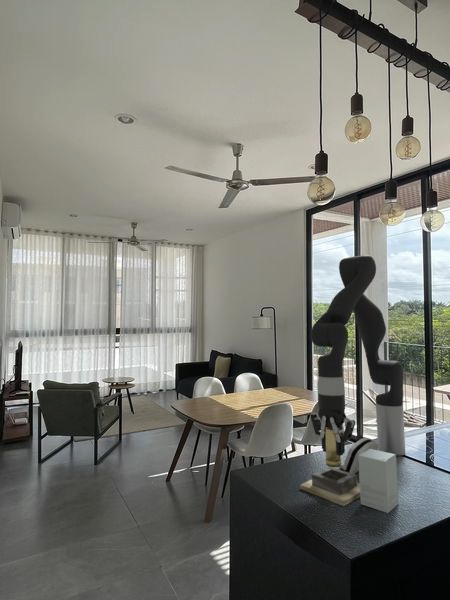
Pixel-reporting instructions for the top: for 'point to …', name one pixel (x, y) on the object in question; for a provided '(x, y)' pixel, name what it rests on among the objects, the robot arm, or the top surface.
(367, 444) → the white black curved block
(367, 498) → the supplement box
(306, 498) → the top surface
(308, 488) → the socket board
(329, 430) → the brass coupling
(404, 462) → the top surface
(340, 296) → the robot arm
